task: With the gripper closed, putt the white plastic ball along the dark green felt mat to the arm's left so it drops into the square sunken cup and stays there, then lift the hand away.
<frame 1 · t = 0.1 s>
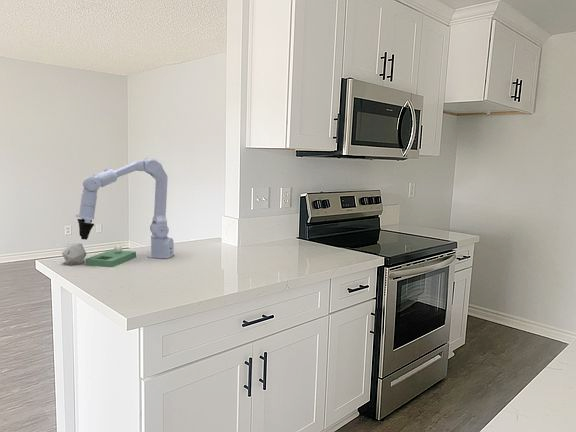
hand: (83, 237, 189), 11 cm above the countertop, tool pointing down, fingers open, 7 cm apart
ball: (118, 248, 199), point 4 cm above the countertop, touching green
die: (74, 263, 189), on the countertop
green: (111, 260, 195), on the countertop
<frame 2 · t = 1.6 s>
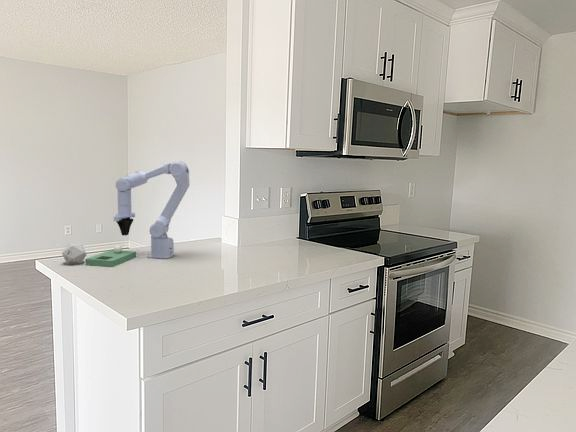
hand: (125, 235, 204), 9 cm above the countertop, tool pointing down, fingers closed
nothing on the countertop moved.
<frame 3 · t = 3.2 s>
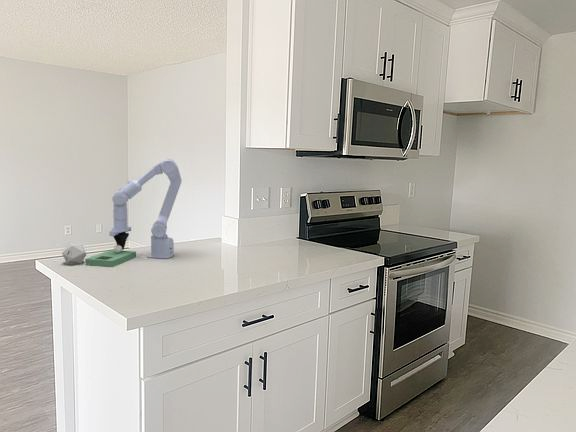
hand: (121, 249, 202), 3 cm above the countertop, tool pointing down, fingers closed, pressing on ball
ball: (118, 248, 199), point 4 cm above the countertop, touching green, gripper
everything else where it was.
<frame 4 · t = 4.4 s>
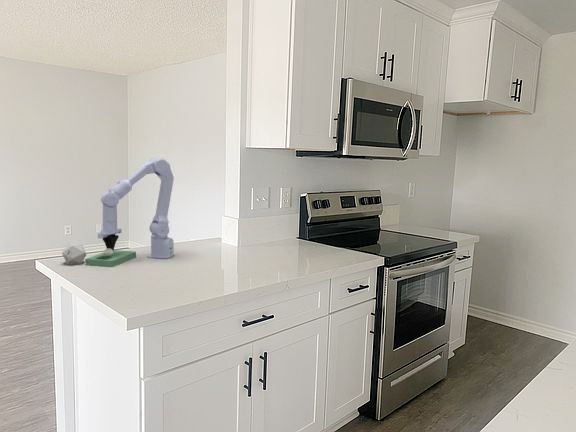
hand: (110, 252, 194), 4 cm above the countertop, tool pointing down, fingers closed, pressing on ball
ball: (108, 252, 192), point 4 cm above the countertop, tilted 128°, touching green, gripper
everything else where it was.
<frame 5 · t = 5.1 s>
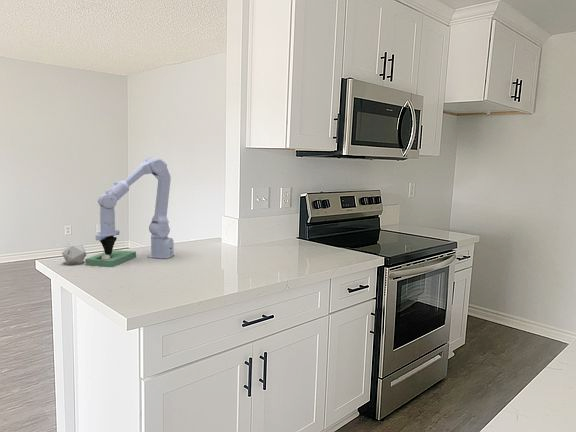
hand: (108, 254, 192), 3 cm above the countertop, tool pointing down, fingers closed
ball: (105, 258, 190), point 2 cm above the countertop, tilted 63°, touching green
everything else where it was.
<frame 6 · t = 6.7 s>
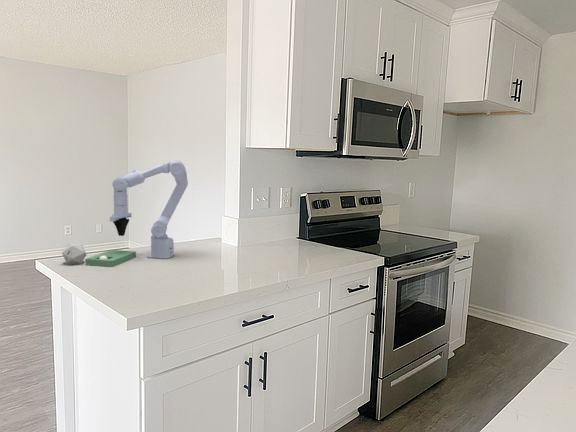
hand: (121, 235, 201), 10 cm above the countertop, tool pointing down, fingers closed
ball: (103, 259, 188), point 2 cm above the countertop, touching green
everything else where it was.
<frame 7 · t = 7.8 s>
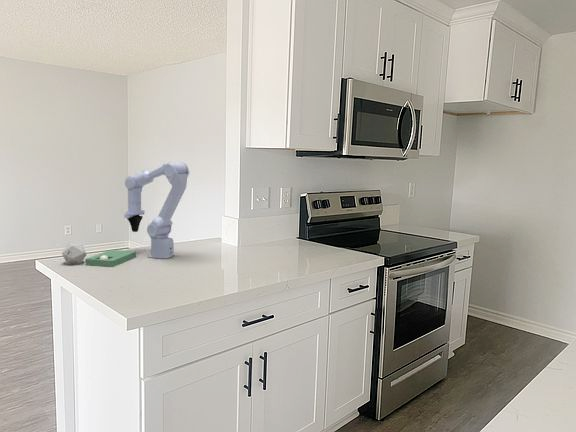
hand: (135, 231, 211), 10 cm above the countertop, tool pointing down, fingers closed
ball: (103, 259, 189), point 2 cm above the countertop, tilted 15°, touching green
everything else where it was.
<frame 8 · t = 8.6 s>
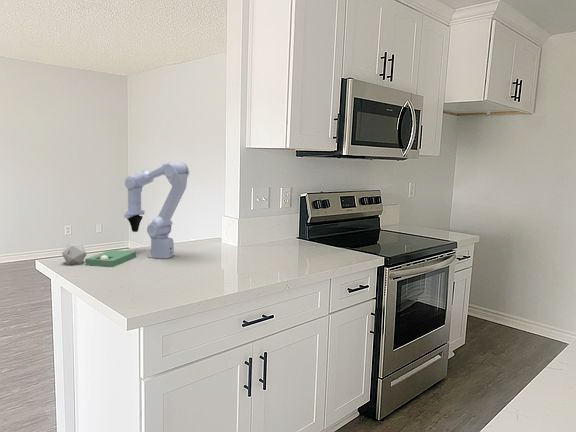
hand: (135, 231, 211), 10 cm above the countertop, tool pointing down, fingers closed
ball: (104, 259, 189), point 2 cm above the countertop, tilted 22°, touching green
everything else where it was.
at the end: ball 0.4 cm from the target spot on the green, point 1.9 cm above the green's base; the gripper is holding nothing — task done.
